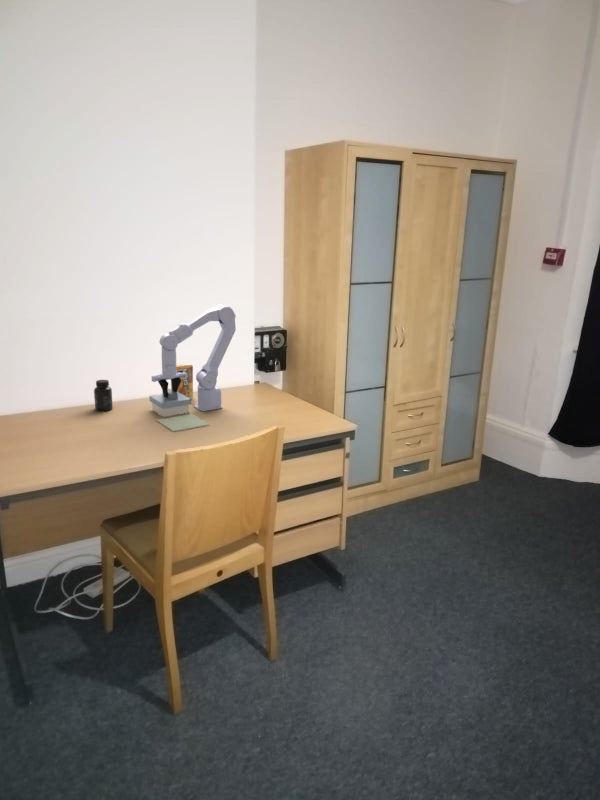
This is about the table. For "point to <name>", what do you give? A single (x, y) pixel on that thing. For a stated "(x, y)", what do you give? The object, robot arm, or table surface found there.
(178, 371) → the candy box
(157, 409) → the storage box
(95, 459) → the table surface
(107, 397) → the supplement bottle
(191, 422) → the mat
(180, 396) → the lid
